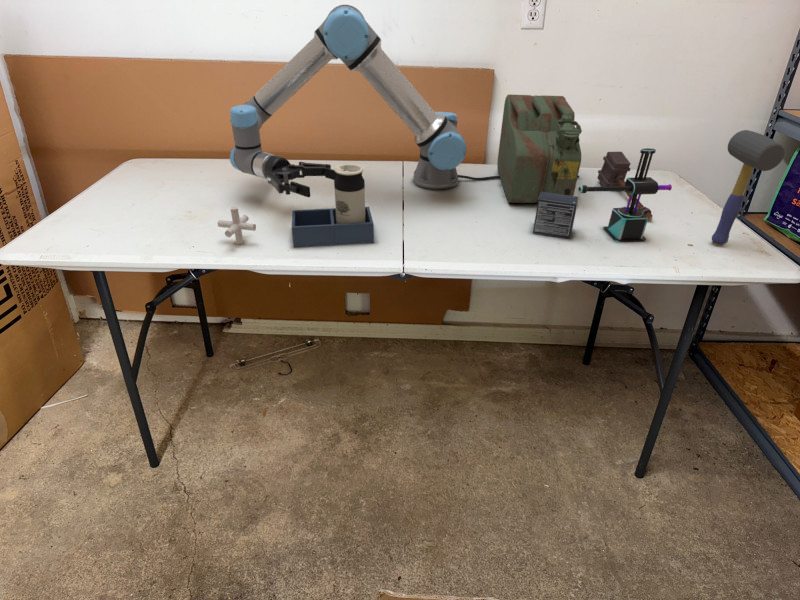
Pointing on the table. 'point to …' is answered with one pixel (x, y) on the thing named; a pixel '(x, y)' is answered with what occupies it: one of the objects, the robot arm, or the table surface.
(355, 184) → the travel mug
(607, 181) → the hammer
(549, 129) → the fuel can
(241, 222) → the pipe connector
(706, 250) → the table surface
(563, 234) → the small box
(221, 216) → the table surface
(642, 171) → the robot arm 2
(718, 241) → the rubber mallet
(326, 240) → the divided storage bin
